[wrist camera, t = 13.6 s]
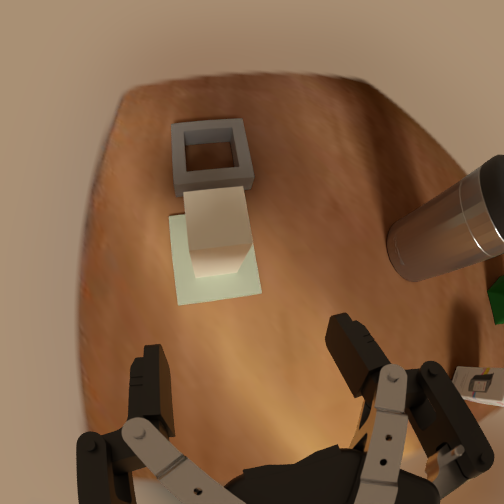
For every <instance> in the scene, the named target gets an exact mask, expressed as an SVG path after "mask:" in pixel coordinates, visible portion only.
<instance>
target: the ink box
mask: <svg viewBox="0 0 504 504" xmlns="http://www.w3.org/2000/svg"><path fill="white" fill-rule="evenodd" d="M452 382H453V384H454V385H455V387H456V388H457V390H458V392H459V393H460V395H461V396H462V398H463V399H465V400H469V401H473V402H478V403H483V404H489V405H496V406H503V407H504V368H480V367H462V366H457V368H456V371H455V374H454V377H453V380H452Z"/></svg>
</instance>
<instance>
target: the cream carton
mask: <svg viewBox="0 0 504 504" xmlns="http://www.w3.org/2000/svg"><path fill="white" fill-rule="evenodd" d="M183 195H184V207H185V217H186V228H187V237H188V246H189V253H190V257H191V262H192V266H193V270H194V274H195V278H201V277H209V276H216V275H224V274H231V273H237V272H238V270H239V268H240V266H241V264H242V263H243V261H244V259H245V257H246V255H247V253H248V252H249V250H250V248H251V246H252V244H253V238H252V233H251V227H250V221H249V216H248V210H247V205H246V199H245V194H244V188H243V186H239V187H227V188H217V189H207V190H198V191H189V192H183Z"/></svg>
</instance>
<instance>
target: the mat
mask: <svg viewBox="0 0 504 504" xmlns="http://www.w3.org/2000/svg"><path fill="white" fill-rule="evenodd" d="M169 226H170V238H171V249H172V258H173V268H174V276H175V284H176V292H177V300H178V305H186V304H193V303H201V302H208V301H215V300H222V299H229V298H236V297H242V296H249V295H255V294H261V293H262V291H261V285H260V280H259V274H258V269H257V263H256V258H255V252H254V246H253V244H252V246H251V248H250V250H249V252H248V253H247V255H246V257H245V259H244V261H243V263H242V264H241V266H240V268H239V270H238V272H237V273H231V274H224V275H216V276H209V277H201V278H195V274H194V270H193V266H192V262H191V257H190V253H189V246H188V237H187V228H186V217H185V214H183V215H175V216H169Z"/></svg>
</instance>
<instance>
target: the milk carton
mask: <svg viewBox="0 0 504 504" xmlns="http://www.w3.org/2000/svg"><path fill="white" fill-rule="evenodd" d="M487 292H488V296H489V300H490V304H491V308H492V312H493V316H494V321H495V325H496V324H503V323H504V275H503V276H500V277H499V278H498V280H497V281H496V282H495V283H494V284H493V285H492V286H491V288H490V289H489V290H488V291H487Z"/></svg>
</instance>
